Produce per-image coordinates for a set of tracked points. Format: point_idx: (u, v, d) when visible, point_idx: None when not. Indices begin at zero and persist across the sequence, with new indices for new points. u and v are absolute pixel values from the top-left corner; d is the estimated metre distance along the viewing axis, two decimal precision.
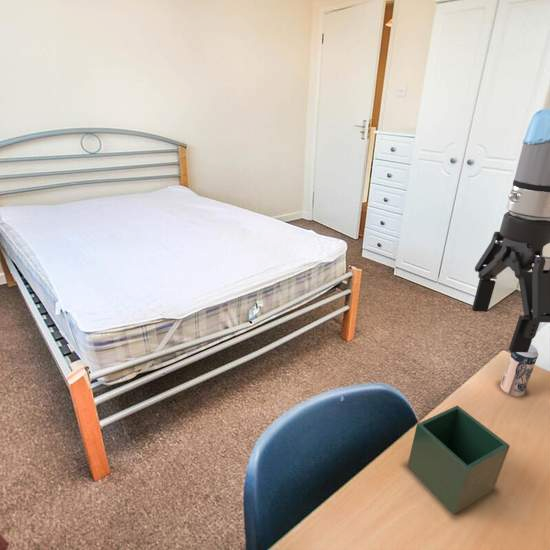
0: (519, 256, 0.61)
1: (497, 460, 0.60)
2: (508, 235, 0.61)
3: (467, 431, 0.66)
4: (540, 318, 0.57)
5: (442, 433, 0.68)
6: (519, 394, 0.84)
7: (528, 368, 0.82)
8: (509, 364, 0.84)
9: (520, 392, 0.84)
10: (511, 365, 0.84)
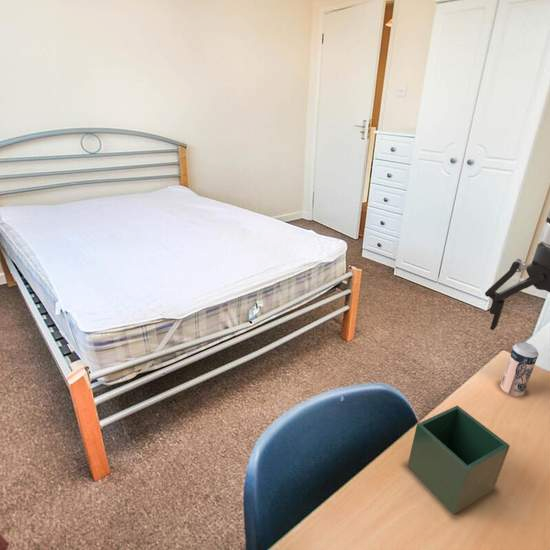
0: None
1: (497, 460, 0.60)
2: None
3: (467, 431, 0.66)
4: None
5: (442, 433, 0.68)
6: (519, 394, 0.84)
7: (528, 368, 0.82)
8: (509, 364, 0.84)
9: (520, 392, 0.84)
10: (511, 365, 0.84)
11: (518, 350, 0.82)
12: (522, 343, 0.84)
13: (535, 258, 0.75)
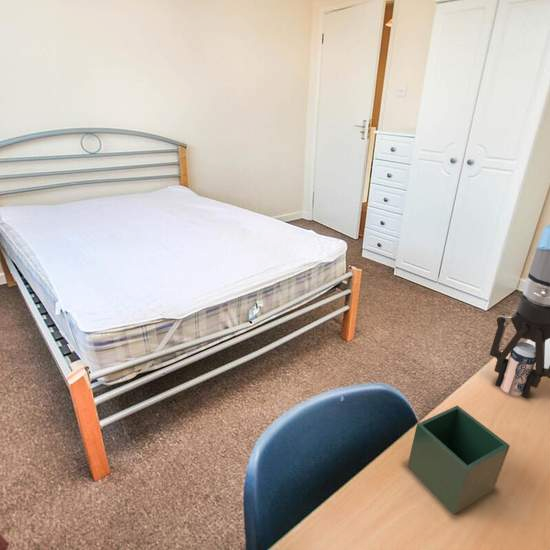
0: (542, 334, 0.78)
1: (497, 460, 0.60)
2: (542, 321, 0.76)
3: (467, 431, 0.66)
4: None
5: (442, 433, 0.68)
6: (519, 394, 0.84)
7: (528, 368, 0.82)
8: (509, 364, 0.84)
9: (520, 392, 0.84)
10: (510, 364, 0.84)
11: (518, 350, 0.82)
12: (522, 343, 0.84)
13: (518, 309, 0.79)
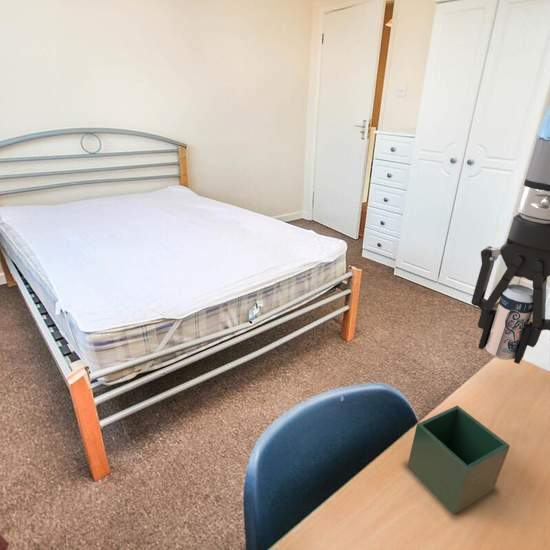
0: (543, 267, 0.56)
1: (497, 460, 0.60)
2: (542, 246, 0.53)
3: (467, 431, 0.66)
4: None
5: (442, 433, 0.68)
6: (510, 356, 0.62)
7: (522, 318, 0.59)
8: (497, 315, 0.62)
9: (512, 353, 0.62)
10: (499, 315, 0.61)
11: (509, 294, 0.59)
12: (515, 286, 0.61)
13: (509, 234, 0.57)
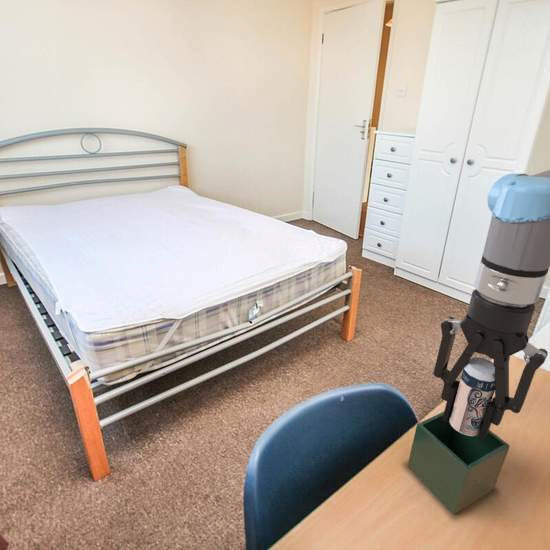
0: (504, 347, 0.52)
1: (497, 460, 0.60)
2: (500, 328, 0.49)
3: None
4: (520, 409, 0.53)
5: (442, 433, 0.68)
6: (474, 433, 0.58)
7: (485, 396, 0.55)
8: (459, 389, 0.58)
9: (476, 430, 0.58)
10: (461, 390, 0.58)
11: (470, 370, 0.56)
12: (477, 359, 0.57)
13: (468, 310, 0.53)
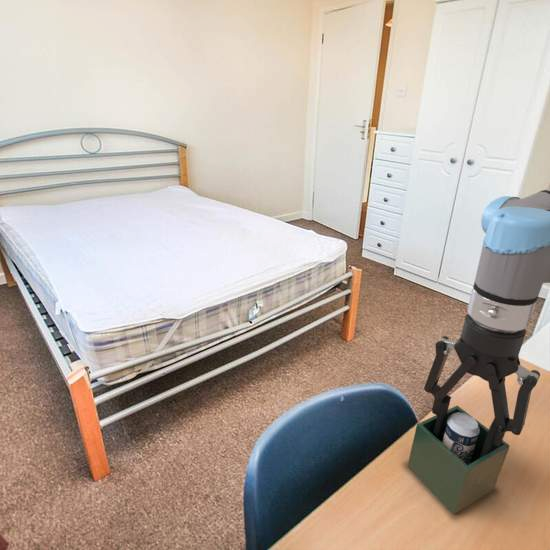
0: (497, 369, 0.53)
1: (497, 460, 0.60)
2: (492, 353, 0.51)
3: None
4: (520, 431, 0.54)
5: (442, 433, 0.68)
6: None
7: (466, 450, 0.60)
8: (443, 442, 0.63)
9: None
10: (445, 443, 0.63)
11: (452, 425, 0.61)
12: (460, 414, 0.63)
13: (462, 334, 0.55)
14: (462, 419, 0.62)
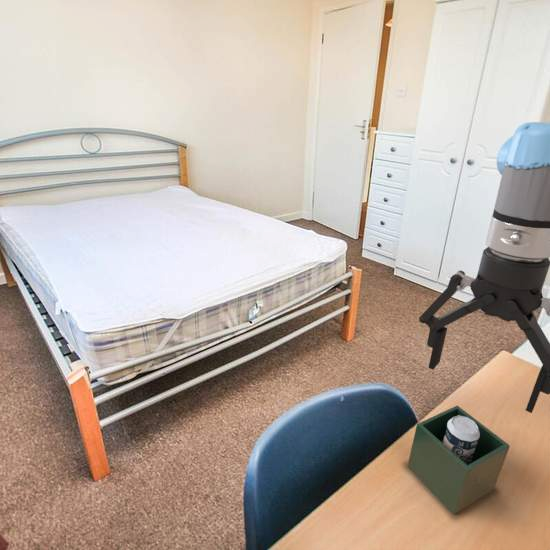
0: (519, 305, 0.49)
1: (497, 460, 0.60)
2: (514, 285, 0.47)
3: None
4: None
5: (442, 433, 0.68)
6: None
7: (466, 454, 0.60)
8: None
9: None
10: None
11: (452, 429, 0.61)
12: (460, 418, 0.62)
13: (479, 270, 0.51)
14: (462, 423, 0.61)
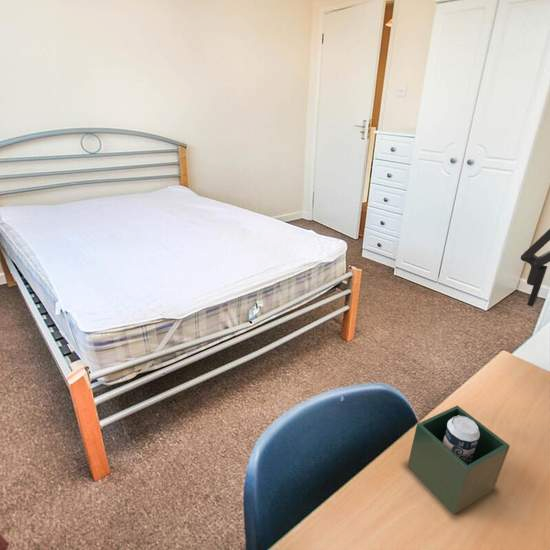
0: None
1: (497, 460, 0.60)
2: None
3: None
4: None
5: (442, 433, 0.68)
6: None
7: (466, 454, 0.60)
8: None
9: None
10: None
11: (452, 429, 0.61)
12: (460, 418, 0.62)
13: None
14: (462, 423, 0.61)
